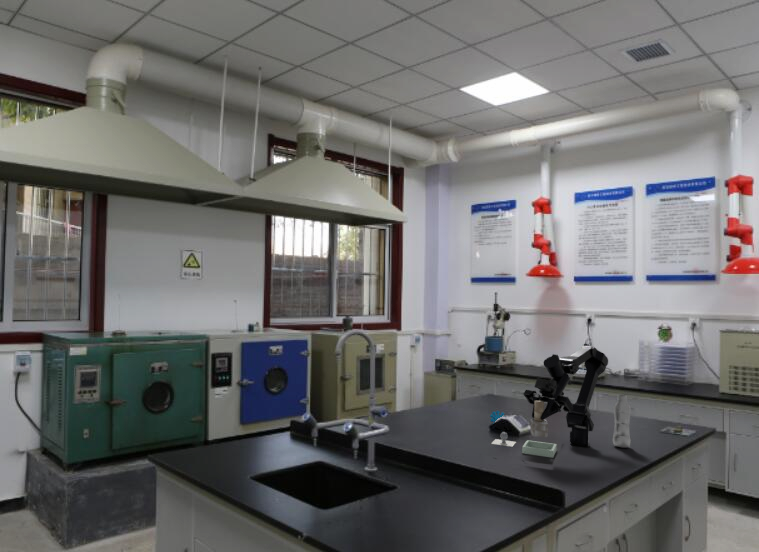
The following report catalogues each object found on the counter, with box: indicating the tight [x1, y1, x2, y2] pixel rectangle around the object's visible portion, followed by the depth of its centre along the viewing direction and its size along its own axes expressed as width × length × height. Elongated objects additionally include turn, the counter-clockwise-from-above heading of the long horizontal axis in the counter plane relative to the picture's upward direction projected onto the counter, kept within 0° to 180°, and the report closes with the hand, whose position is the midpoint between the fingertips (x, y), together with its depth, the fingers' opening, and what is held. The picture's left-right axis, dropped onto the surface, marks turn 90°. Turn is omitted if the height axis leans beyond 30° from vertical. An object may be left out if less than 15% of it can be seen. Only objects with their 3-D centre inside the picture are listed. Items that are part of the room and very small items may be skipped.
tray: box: [521, 440, 558, 458], centre depth 202 cm, size 11×11×4 cm
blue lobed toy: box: [489, 410, 505, 425], centre depth 243 cm, size 11×6×10 cm
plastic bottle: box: [612, 394, 632, 449], centre depth 220 cm, size 6×7×20 cm
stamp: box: [529, 401, 549, 438], centre depth 203 cm, size 5×5×12 cm
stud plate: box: [491, 431, 517, 448], centre depth 213 cm, size 8×8×5 cm
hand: (536, 418), depth 202 cm, fingers closed on stamp, 3 cm apart
